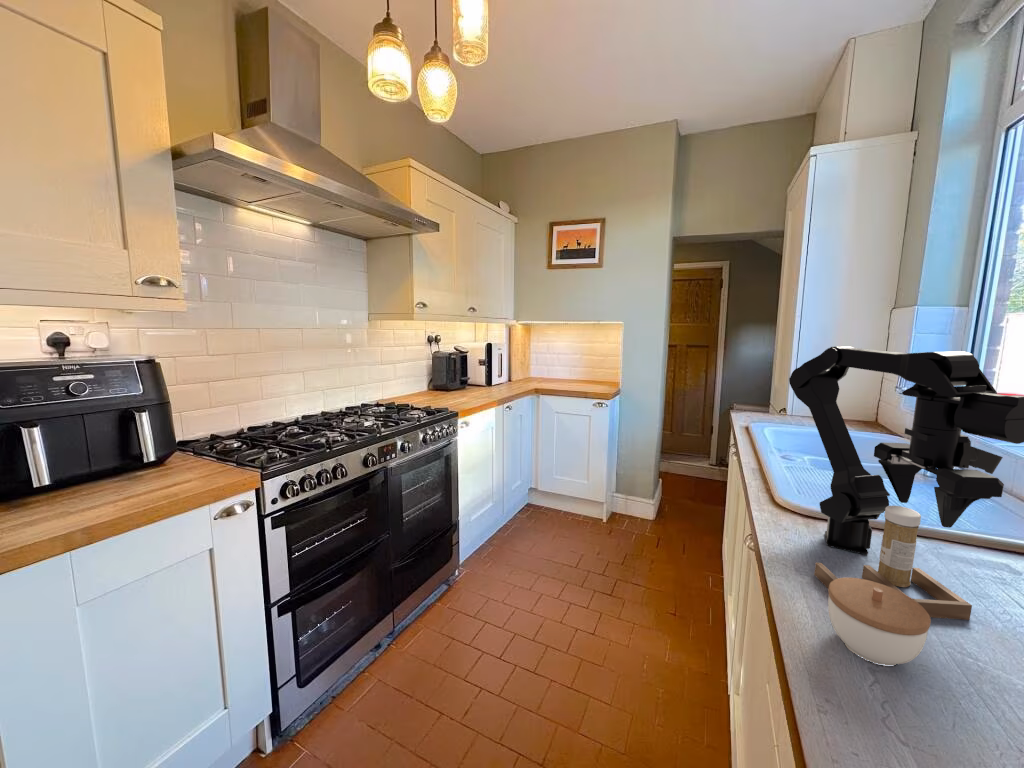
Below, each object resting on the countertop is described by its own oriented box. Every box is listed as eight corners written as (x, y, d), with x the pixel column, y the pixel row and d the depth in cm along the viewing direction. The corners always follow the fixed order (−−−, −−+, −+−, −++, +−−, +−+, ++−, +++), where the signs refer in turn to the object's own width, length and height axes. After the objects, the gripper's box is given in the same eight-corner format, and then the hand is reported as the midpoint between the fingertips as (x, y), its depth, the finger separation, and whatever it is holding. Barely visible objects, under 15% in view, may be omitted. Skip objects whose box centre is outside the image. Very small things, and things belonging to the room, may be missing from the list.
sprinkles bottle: (875, 570, 77) (884, 502, 75) (908, 578, 75) (918, 508, 72) (877, 582, 74) (887, 511, 72) (912, 592, 71) (923, 519, 69)
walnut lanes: (814, 574, 76) (815, 562, 76) (916, 580, 74) (918, 568, 74) (850, 612, 66) (852, 598, 66) (969, 619, 64) (972, 605, 64)
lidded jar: (807, 635, 62) (813, 577, 60) (850, 614, 66) (856, 560, 65) (895, 693, 52) (905, 627, 51) (939, 664, 56) (949, 602, 55)
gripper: (1056, 444, 59) (1037, 546, 61) (944, 414, 77) (932, 494, 79) (965, 441, 60) (949, 540, 63) (876, 413, 79) (867, 491, 81)
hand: (923, 513), depth 71 cm, fingers open, 9 cm apart
